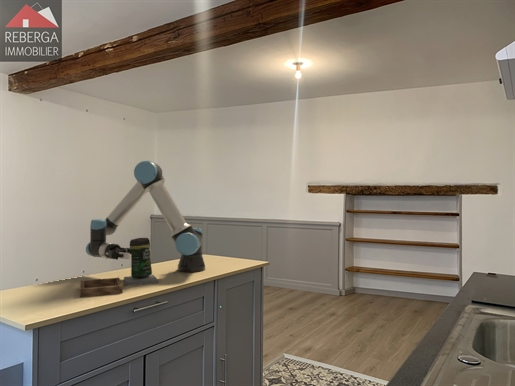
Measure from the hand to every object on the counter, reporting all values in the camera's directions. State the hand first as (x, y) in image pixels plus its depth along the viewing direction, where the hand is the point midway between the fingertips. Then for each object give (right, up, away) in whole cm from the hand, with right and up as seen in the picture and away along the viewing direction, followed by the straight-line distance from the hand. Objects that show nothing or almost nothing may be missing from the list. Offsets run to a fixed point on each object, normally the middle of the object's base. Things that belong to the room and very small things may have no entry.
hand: (140, 254), depth 182 cm
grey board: (0, -13, 0) cm, 13 cm away
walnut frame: (-12, -13, -17) cm, 25 cm away
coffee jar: (0, -11, +3) cm, 12 cm away
